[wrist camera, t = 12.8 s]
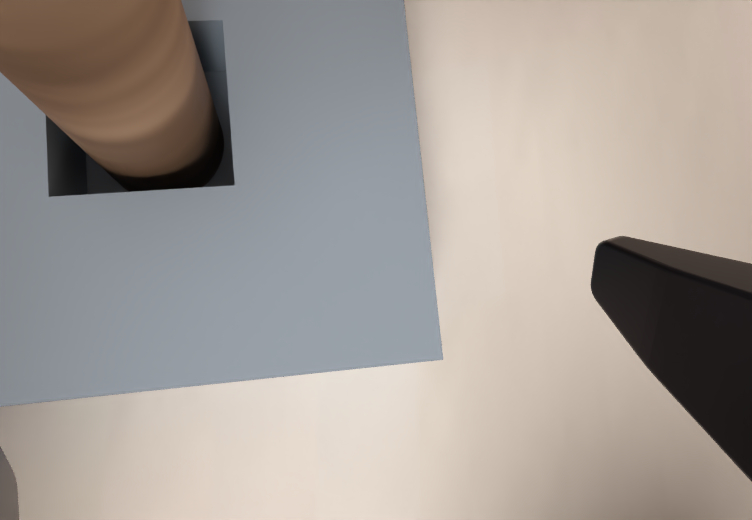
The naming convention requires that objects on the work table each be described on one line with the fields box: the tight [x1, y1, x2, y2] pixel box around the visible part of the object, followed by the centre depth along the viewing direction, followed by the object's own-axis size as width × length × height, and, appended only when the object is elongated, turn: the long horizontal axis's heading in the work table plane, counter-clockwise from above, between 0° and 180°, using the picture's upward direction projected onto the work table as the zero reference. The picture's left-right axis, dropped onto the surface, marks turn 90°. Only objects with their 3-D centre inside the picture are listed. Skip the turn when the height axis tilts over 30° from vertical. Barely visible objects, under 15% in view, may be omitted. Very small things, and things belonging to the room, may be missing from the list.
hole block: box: [0, 0, 443, 407], centre depth 20 cm, size 16×16×4 cm
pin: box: [0, 0, 224, 192], centre depth 15 cm, size 4×4×13 cm
